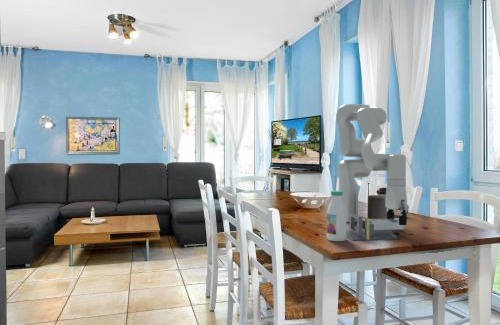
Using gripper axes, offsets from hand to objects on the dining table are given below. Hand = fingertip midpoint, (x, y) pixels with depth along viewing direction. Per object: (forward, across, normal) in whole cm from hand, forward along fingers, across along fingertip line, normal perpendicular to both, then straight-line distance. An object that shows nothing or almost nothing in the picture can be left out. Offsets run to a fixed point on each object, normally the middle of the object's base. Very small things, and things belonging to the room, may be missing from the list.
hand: (396, 222), depth 157 cm
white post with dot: (+2, -1, -5) cm, 5 cm away
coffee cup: (+5, -50, +21) cm, 54 cm away
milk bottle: (+6, +3, -28) cm, 29 cm away
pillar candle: (+5, -26, +4) cm, 26 cm away
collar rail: (+5, -1, -12) cm, 13 cm away
